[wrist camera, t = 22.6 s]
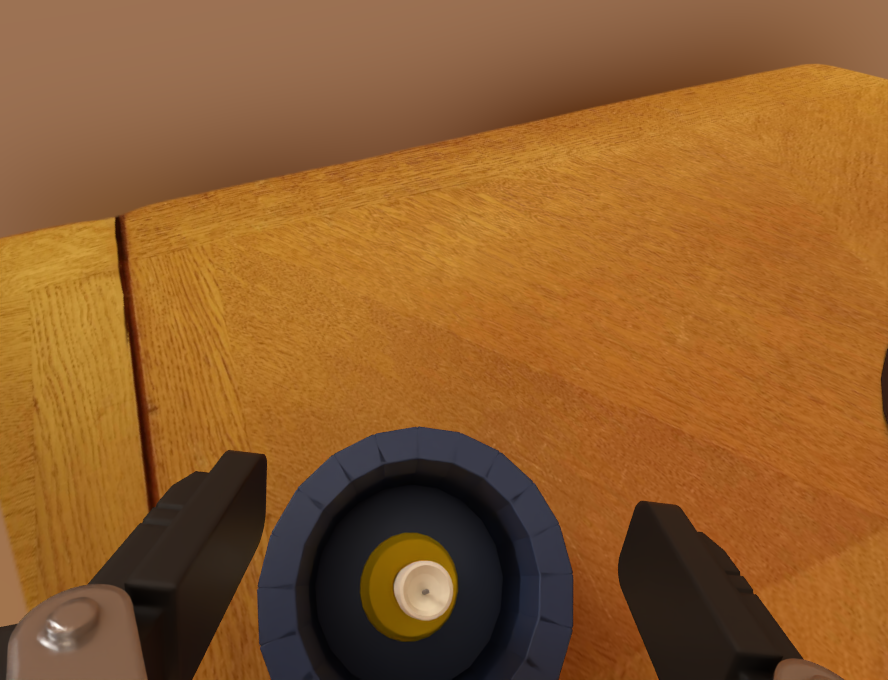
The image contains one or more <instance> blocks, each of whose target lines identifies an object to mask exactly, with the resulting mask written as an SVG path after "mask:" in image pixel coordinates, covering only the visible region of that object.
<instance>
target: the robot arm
mask: <svg viewBox="0 0 888 680" xmlns="http://www.w3.org/2000/svg"><path fill="white" fill-rule="evenodd" d="M266 479H267V459H266V456H265V455H264V454H258V453H250V452H241V451H233V450H228V451H226V452H225V453H224V454H223V456H222V457H221V458H220V459H219V461H218V462H217V463H216V465H215V466H214V467H213V469H212V470H211V471H210V472H209V473H207V472H198V471H195V472H194V473H192V474H190V475H189V476H187V477H185V478H184V479H182V480H181V481H179V482H177V483H176V484H174V485H172V486H171V488H170V489H169V490H168V491H167V492H166V493H165V495H164V496H163V497H162V498H161V499H160V500H159V502H158V503H157V505H156V508H154V507H153V509H152V510H151V511H150V512H149V513H148V514H147V516H146V517H145V518H144V519H143V523H140V524H139V525H138V526H137V527H136V528H135V530H134V531H133V532H132V533H131V534H130V535H129V537H128V538H127V539H126V540H125V541H124V543H123V544H122V545H121V546H120V547H119V548H118V550H117V551H116V552H115V553H114V554H113V555H112V557H111V558H110V559H109V560H108V561H107V562H106V564H105V565H104V566H103V567H102V568H101V569H100V571H99V572H98V573H97V574H96V575H95V576H94V578H93V579H92V580H91V581H90V582H89V583H88V585H83V586H79V587H75V588H71V589H69V590H66V591H63V592H60V593H58V594H56V595H54V596H52V597H50V598H48V599H47V600H45V601H43V602H42V603H40V604H39V605H37V606H36V607H35V608H33V609H32V610H31V611H30V612H29V613H27V614H26V615H25V616H24V617H23V618H22V620H21V621H20V622H19V623H18V624H15V625H9V626H4V627H0V680H192V679H193V677H194V675H195V673H196V671H197V669H198V667H199V665H200V663H201V661H202V659H203V657H204V655H205V653H206V650H207V648H208V646H209V644H210V642H211V640H212V638H213V636H214V634H215V632H216V630H217V628H218V626H219V624H220V622H221V620H222V618H223V616H224V614H225V612H226V610H227V608H228V606H229V604H230V602H231V600H232V598H233V596H234V594H235V592H236V590H237V588H238V586H239V584H240V582H241V579H242V577H243V575H244V573H245V571H246V569H247V567H248V565H249V563H250V561H251V559H252V557H253V555H254V553H255V551H256V549H257V547H258V545H259V542H260V539H261V536H262V532H263V528H264V523H265V514H266ZM618 576H619V582H620V586H621V589H622V592H623V594H624V597H625V599H626V601H627V604H628V606H629V609H630V611H631V613H632V616H633V618H634V621H635V623H636V625H637V628H638V630H639V633H640V635H641V637H642V640H643V642H644V644H645V647H646V649H647V652H648V654H649V656H650V659H651V661H652V664H653V666H654V668H655V671H656V673H657V676H658V678H659V680H844V679H843V678H841V677H840V676H838V675H837V674H835V673H834V672H832V671H830V670H828V669H826V668H824V667H822V666H820V665H818V664H815V663H813V662H810V661H806V660H804V659H803V658H802V656H801V655H800V654H799V652H798V651H797V649H796V648H795V647H794V645H793V644H792V643H791V641H790V640H789V639H788V637H787V636H786V634H785V633H784V632H783V630H782V629H781V628H780V626H779V625H778V623H777V622H776V621H775V619H774V618H773V617H772V615H771V614H770V612H769V611H768V610H767V608H766V607H765V606H764V604H763V603H762V601H761V600H760V599H759V597H758V596H757V595H756V594H753V589H752V588H751V586H750V585H749V584H748V582H747V581H746V579H745V578H744V577H743V576H740V571H739V570H738V568H737V567H736V566H735V564H734V563H733V562H732V560H731V559H730V557H729V556H728V555H727V553H726V552H725V551H724V550H723V549H722V548H721V547H719V546H718V545H717V544H716V543H715V542H713V541H712V540H711V539H710V538H709V537H707V536H706V535H705V534H704V533H703V532H697V531H696V529H695V528H694V526H693V525H692V523H691V522H690V521H689V519H688V518H687V516H686V515H685V513H684V512H683V510H682V509H681V508H680V507H679V506H677V505H673V504H665V503H656V502H648V501H640V502H639V503H638V504H637V505H636V507H635V510H634V513H633V516H632V519H631V522H630V525H629V528H628V531H627V535H626V538H625V541H624V544H623V547H622V550H621V553H620V557H619V563H618Z"/></svg>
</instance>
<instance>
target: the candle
mask: <svg viewBox="0 0 888 680" xmlns="http://www.w3.org/2000/svg"><path fill="white" fill-rule="evenodd" d="M457 594H458V576H457V572H456V569H455V565H454V562H453V561H452V559H451V557H450V555H449V553H448V552H447V551H446V549H445V548H444V547H443V546H442V545H441V544H440V543H439V542H437V541H436V540H434V539H432V538H431V537H429V536H427V535H423V534H419V533H401V534H398V535H395V536H391V537H390V538H388V539H387V540H385V541H383V542H382V543H380V544H379V545H378V547H377V548H376V549H375V550H374V551H373V552H372V553H371V555H370V556H369V558H368V560H367V561H366V563H365V565H364V568H363V572H362V575H361V579H360V597H361V602H362V607H363V609H364V611H365V613H366V616H367V618H368V620H369V621H370V622H371V623H372V625H373V626H374V627H375V628H376V629H377V630H378V631H379V632H381V633H382V634H384V635H385V636H387V637H388V638H391V639H394V640H398V641H402V642H407V641H418V640H421V639H424V638H427V637H429V636H430V635H432V634H433V633H435V632H436V631H437V630H439V629H440V628H441V627H442V626H443V624H444V623H445V622H446V621H447V620H448V618H449V617H450V615H451V613H452V610H453V608H454V606H455V603H456V598H457Z"/></svg>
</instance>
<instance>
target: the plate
mask: <svg viewBox="0 0 888 680" xmlns="http://www.w3.org/2000/svg"><path fill="white" fill-rule="evenodd" d="M881 382H882V394H883V407H884V414H885V417H886V420H887V423H888V349H887V354H886V359H885V363H884V368H883V373H882V377H881Z"/></svg>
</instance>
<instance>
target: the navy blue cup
mask: <svg viewBox="0 0 888 680" xmlns="http://www.w3.org/2000/svg"><path fill="white" fill-rule="evenodd" d="M558 524H559V522H558V521H557V519H556V518H555V516H554V514H553V513H552V511H551V509H550V508H549V506H548V504H547V503H546V501H545V499H544V498H543V496H542V494H541V493H540V491H539V490H538V488H537V486H536V485H535V483H533V481H532V480H531V479H530V478H529V477H527V476H526V475H525V474H524V473H523V472H522V471H521V470H520V469H519V468H518V467H517V466H515V465H514V464H513V463H512V462H511V461H510V460H509V459H508V458H507V457H506V456H505V455H503V454H502V453H501V452H500V453H499V451H498V450H496V449H494V448H492V447H490V446H487V445H485V444H483V443H481V442H479V441H477V440H475V439H473V438H471V437H469V436H466V435H464V434H462V433H461V434H460V433H459V432H453V431H446V430H439V429H432V428H425V427H418V428H417V427H412V428H406V429H400V430H395V431H389V432H383V433H377V434H375V435H371V436H369V437H367V438H365V439H363V440H361V441H359V442H357V443H355V444H353V445H351V446H349V447H347V448H345V449H343V450H341V451H339V452H337V453H335V454H334V455H332V456H331V457H330V458H329V459H328V460H327V461H326V462H324V463H323V464H322V465H321V466H320V467H319V468H318V469H317V470H316V471H315V472H314V473H313V474H312V475H311V476H310V477H309V478H308V479H307V480H306V481H304V482H303V483H302V484H301V485H300V486H299V487H298V489H297V490H296V492H295V493H294V495H293V497H292V498H291V500H290V502H289V504H288V505H287V507H286V509H285V510H284V512H283V514H282V516H281V517H280V519H279V521H278V522H277V524H276V526H275V528H274V529H273V531H272V535H271V536H270V539H269V543H268V547H267V551H266V555H265V559H264V563H263V567H262V571H261V575H260V578H259V582H258V590H257V597H258V623H259V644H260V645H261V647H260V650H261V652H262V655H263V658H264V661H265V664H266V666H267V669H268V672H269V675H270V677H271V680H558V679H559V676H560V672H561V669H562V665H563V662H564V658H565V655H566V652H567V648H568V645H569V641H570V638H571V634H572V628H573V575H572V573H573V571H572V568H571V564H570V561H569V557H568V553H567V550H566V546H565V543H564V539H563V535H562V532H561V528H560V525H558ZM401 533H419V534H423V535H427V536H429V537H431V538H432V539H434V540H436V541H437V542H439V543H440V544H441V545H442V546H443V547H444V548H445V549H446V551H447V552H448V553H449V555H450V557H451V559H452V561H453V562H454V565H455V569H456V572H457V576H458V594H457V598H456V603H455V606H454V608H453V610H452V613H451V615H450V617H449V618H448V620H447V621H446V622H445V623H444V624H443V626H442V627H441V628H440V629H439V630H437V631H436V632H435V633H433V634H432V635H430V636H429V637H427V638H424V639H421V640H418V641H407V642H402V641H398V640H394V639H391V638H388V637H387V636H385V635H384V634H382V633H381V632H379V631H378V630H377V629H376V628H375V627H374V626H373V625H372V623H371V622H370V621H369V620H368V618H367V616H366V613H365V611H364V609H363V607H362V602H361V597H360V579H361V575H362V572H363V568H364V565H365V563H366V561H367V560H368V558H369V556H370V555H371V553H372V552H373V551H374V550H375V549H376V548H377V547H378V545H379V544H380V543H382V542H383V541H385V540H387V539H388V538H390V537H391V536H395V535H398V534H401Z"/></svg>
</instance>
